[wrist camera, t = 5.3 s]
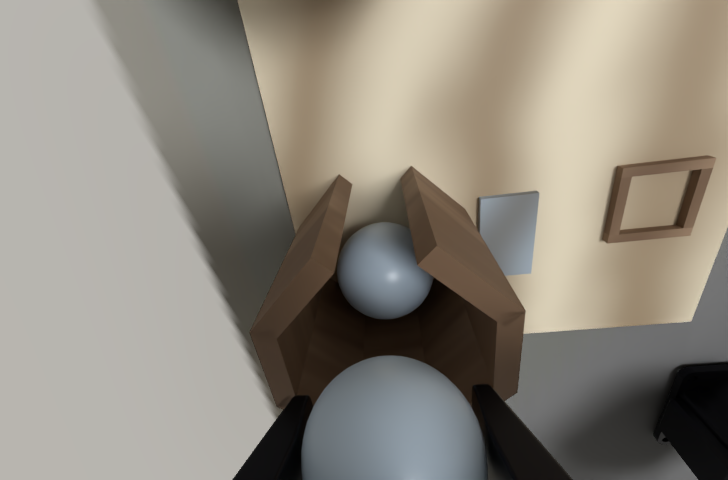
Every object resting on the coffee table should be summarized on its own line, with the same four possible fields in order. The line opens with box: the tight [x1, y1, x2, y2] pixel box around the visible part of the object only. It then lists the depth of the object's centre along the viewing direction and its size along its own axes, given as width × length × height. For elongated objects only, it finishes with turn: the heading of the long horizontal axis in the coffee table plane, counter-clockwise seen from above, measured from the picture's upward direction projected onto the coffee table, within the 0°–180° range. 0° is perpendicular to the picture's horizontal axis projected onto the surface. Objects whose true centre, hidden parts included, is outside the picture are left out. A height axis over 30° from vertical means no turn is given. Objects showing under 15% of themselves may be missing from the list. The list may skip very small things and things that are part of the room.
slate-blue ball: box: [301, 355, 488, 480], centre depth 8 cm, size 4×4×4 cm
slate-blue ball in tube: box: [337, 222, 433, 319], centre depth 14 cm, size 4×4×4 cm
